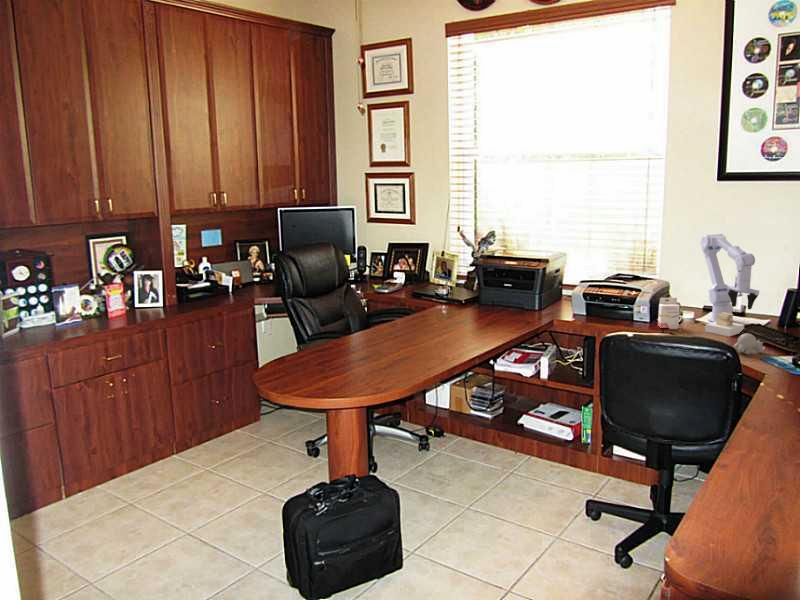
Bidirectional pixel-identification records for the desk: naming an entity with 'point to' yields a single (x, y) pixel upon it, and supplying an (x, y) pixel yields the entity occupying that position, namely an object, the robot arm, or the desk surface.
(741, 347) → the round bodied animal figurine
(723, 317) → the beech block
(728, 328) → the grey box
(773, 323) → the desk surface
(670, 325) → the ink cartridge box
